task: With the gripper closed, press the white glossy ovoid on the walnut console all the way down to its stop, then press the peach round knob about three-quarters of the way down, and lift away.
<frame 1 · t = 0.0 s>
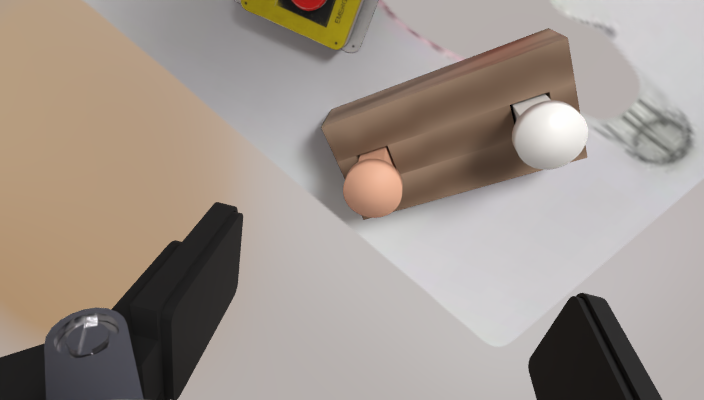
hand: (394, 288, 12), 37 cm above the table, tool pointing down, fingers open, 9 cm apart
press console: (446, 122, 47), on the table
white glossy ovoid: (539, 123, 37), point 8 cm above the table, slide at 0.0 cm
peach round knob: (375, 174, 42), point 8 cm above the table, slide at 0.0 cm
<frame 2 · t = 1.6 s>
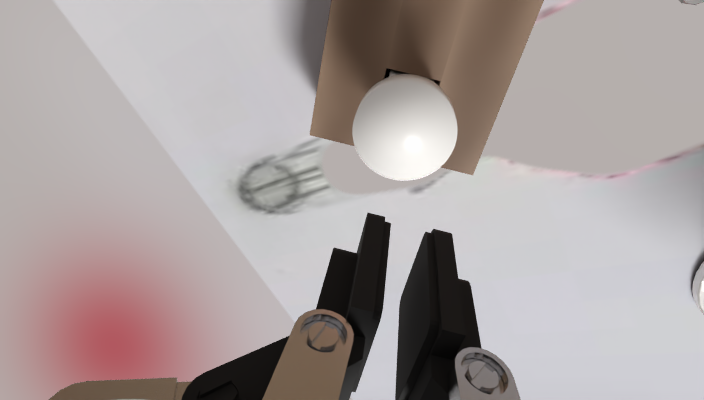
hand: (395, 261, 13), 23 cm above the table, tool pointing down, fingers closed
white glossy ovoid: (405, 112, 25), point 8 cm above the table, slide at 0.0 cm
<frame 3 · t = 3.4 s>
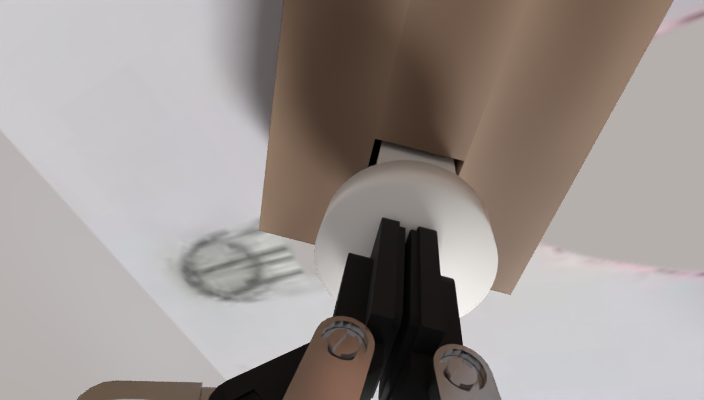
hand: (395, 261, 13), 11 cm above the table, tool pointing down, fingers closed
white glossy ovoid: (406, 203, 16), point 7 cm above the table, slide at 1.1 cm, touching gripper
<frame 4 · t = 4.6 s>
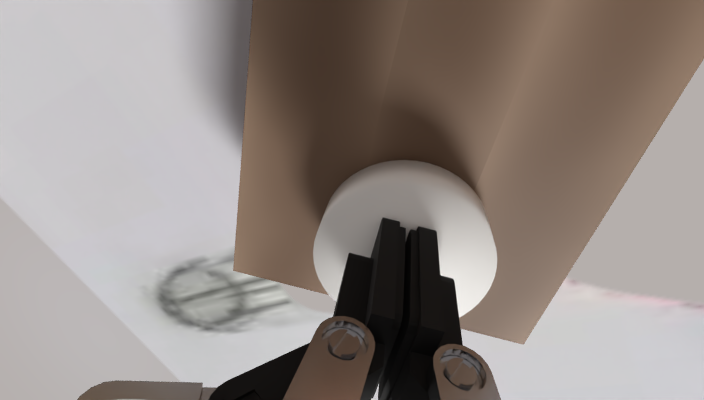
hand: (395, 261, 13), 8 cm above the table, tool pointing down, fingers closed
white glossy ovoid: (405, 203, 16), point 4 cm above the table, slide at 4.0 cm, touching gripper
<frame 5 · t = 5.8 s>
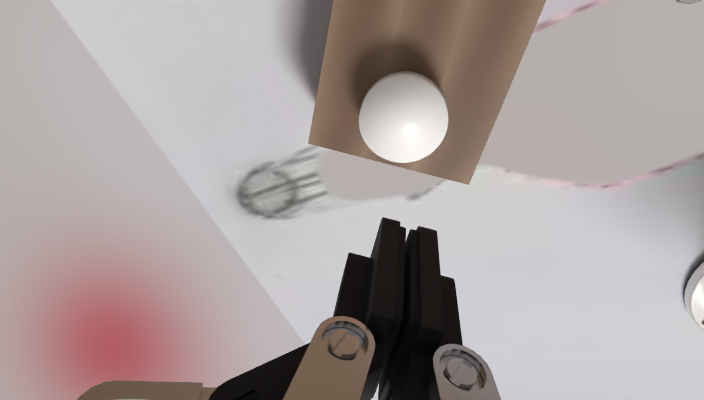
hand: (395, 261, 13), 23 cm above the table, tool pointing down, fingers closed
white glossy ovoid: (404, 104, 29), point 4 cm above the table, slide at 4.0 cm
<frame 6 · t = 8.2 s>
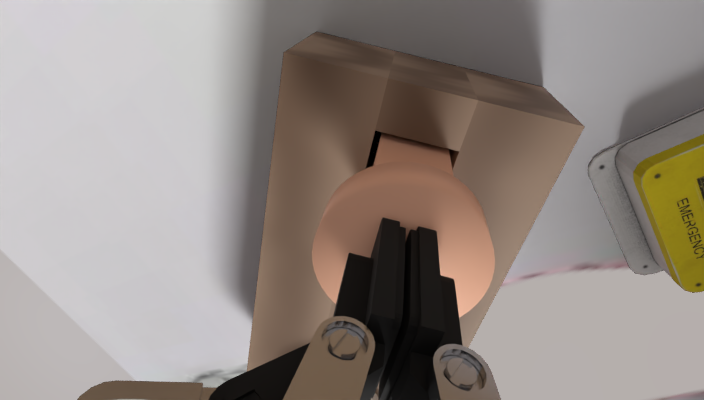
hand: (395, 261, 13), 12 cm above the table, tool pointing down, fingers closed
press console: (375, 242, 27), on the table
white glossy ovoid: (342, 373, 28), point 4 cm above the table, slide at 4.0 cm
peach round knob: (404, 204, 16), point 8 cm above the table, slide at 0.0 cm, touching gripper
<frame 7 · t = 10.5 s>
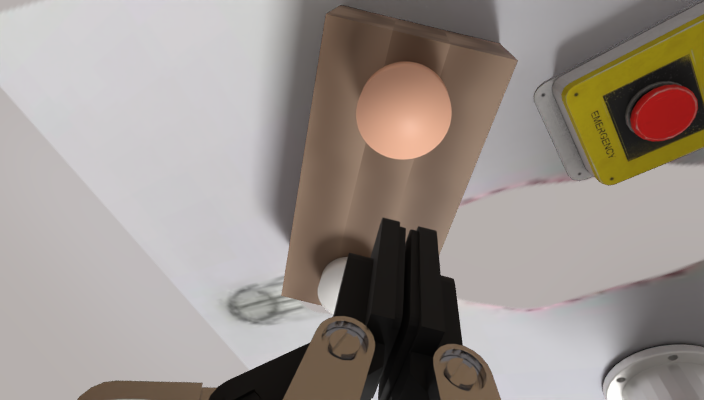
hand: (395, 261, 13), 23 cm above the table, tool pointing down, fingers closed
emergency button: (649, 89, 31), on the table
press console: (381, 167, 36), on the table
white glossy ovoid: (356, 266, 37), point 4 cm above the table, slide at 4.0 cm
peach round knob: (404, 97, 28), point 5 cm above the table, slide at 2.9 cm
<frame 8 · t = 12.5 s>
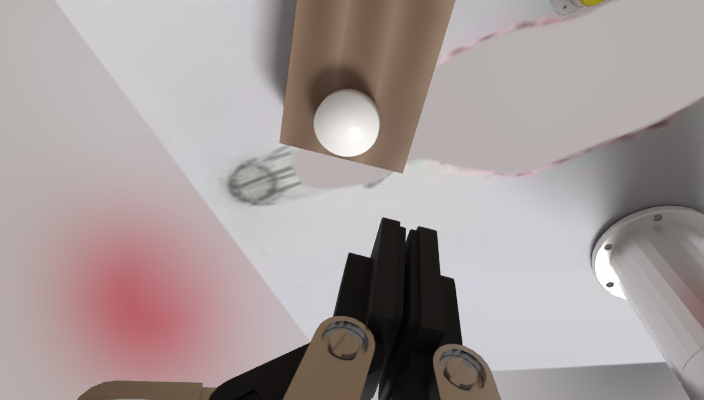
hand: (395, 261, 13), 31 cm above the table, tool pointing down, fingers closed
press console: (375, 16, 38), on the table
white glossy ovoid: (351, 112, 38), point 4 cm above the table, slide at 4.0 cm
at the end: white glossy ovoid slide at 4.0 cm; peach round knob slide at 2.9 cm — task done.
